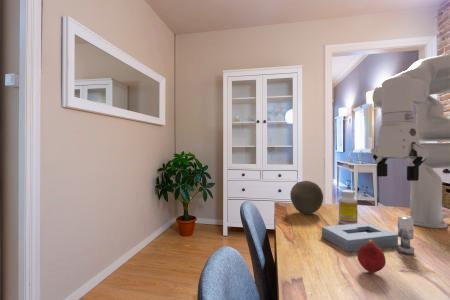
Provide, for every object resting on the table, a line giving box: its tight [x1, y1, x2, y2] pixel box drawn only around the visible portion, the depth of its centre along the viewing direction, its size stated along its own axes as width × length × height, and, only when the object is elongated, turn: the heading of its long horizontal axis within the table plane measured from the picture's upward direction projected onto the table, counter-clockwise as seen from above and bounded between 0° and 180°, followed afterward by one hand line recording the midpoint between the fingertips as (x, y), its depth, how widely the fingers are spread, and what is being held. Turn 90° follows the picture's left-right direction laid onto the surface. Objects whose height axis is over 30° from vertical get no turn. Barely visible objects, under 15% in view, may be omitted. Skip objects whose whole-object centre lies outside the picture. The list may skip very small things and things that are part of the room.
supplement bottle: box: [338, 189, 358, 225], centre depth 94 cm, size 7×7×13 cm
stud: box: [396, 215, 415, 256], centre depth 68 cm, size 4×4×10 cm
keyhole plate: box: [321, 222, 399, 253], centre depth 77 cm, size 18×12×3 cm, turn 103°
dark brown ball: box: [289, 180, 324, 215], centre depth 107 cm, size 14×14×15 cm
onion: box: [356, 239, 386, 274], centre depth 57 cm, size 6×6×8 cm
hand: (396, 178), depth 69 cm, fingers open, 9 cm apart
